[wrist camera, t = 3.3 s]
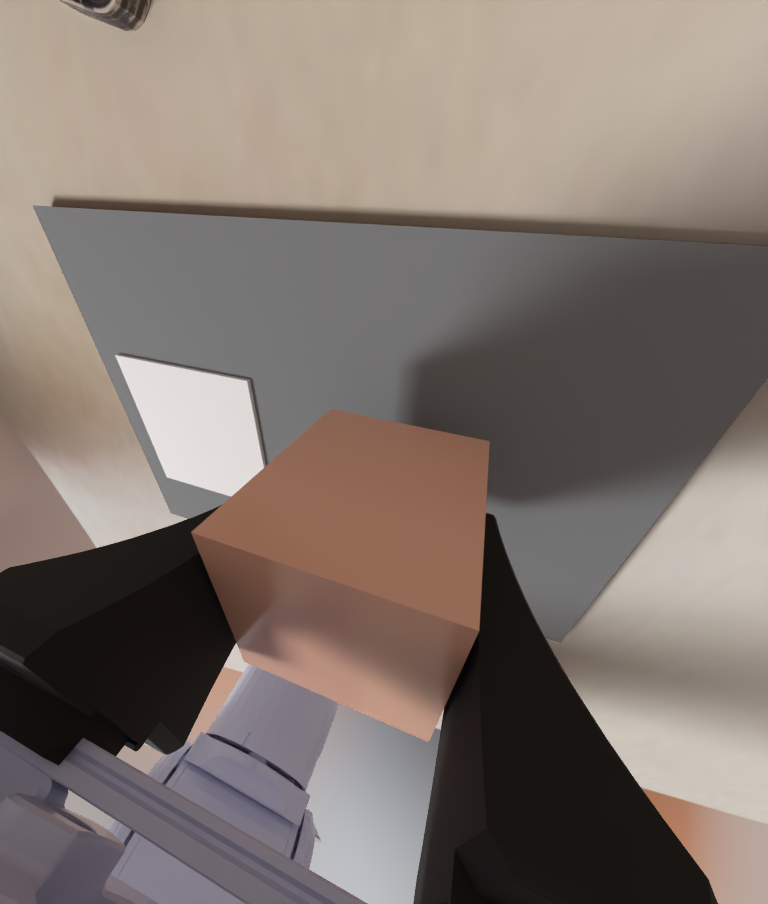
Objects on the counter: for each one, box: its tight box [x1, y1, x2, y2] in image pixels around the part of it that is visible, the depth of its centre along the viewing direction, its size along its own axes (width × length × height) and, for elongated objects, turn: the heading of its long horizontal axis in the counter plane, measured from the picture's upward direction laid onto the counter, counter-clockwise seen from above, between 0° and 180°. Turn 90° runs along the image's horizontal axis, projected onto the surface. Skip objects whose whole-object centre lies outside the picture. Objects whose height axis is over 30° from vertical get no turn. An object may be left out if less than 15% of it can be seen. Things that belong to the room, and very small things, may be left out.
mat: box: [33, 206, 768, 642], centre depth 15 cm, size 18×27×1 cm, turn 86°
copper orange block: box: [191, 409, 490, 742], centre depth 9 cm, size 5×5×6 cm
